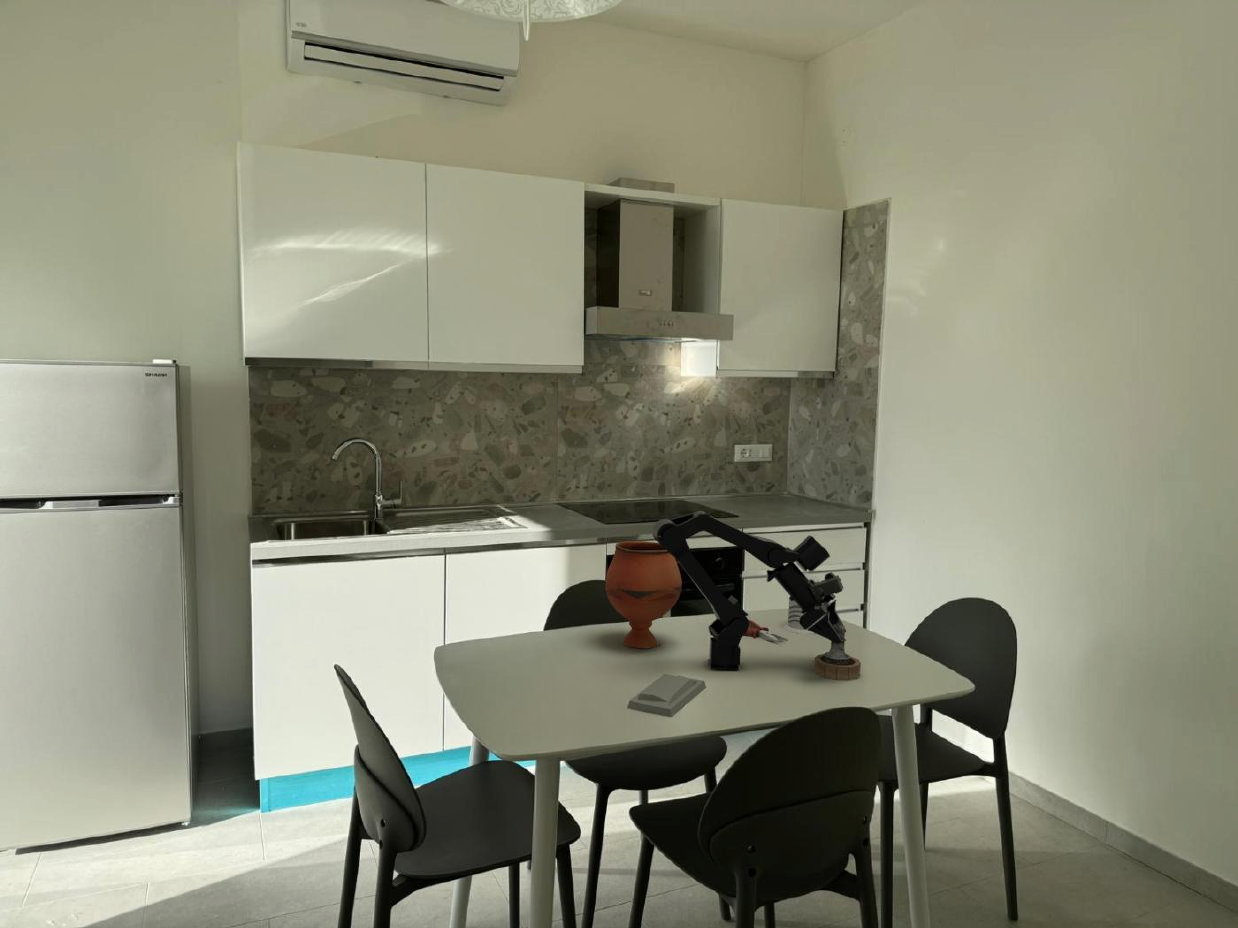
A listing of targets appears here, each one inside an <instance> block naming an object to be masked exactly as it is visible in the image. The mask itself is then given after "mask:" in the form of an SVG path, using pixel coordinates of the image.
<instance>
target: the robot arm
mask: <svg viewBox="0 0 1238 928" xmlns="http://www.w3.org/2000/svg"><path fill="white" fill-rule="evenodd" d="M702 531H704V532H706V533H708V534H710V535H711V536H715V537H717V538H718V539H721V540H723V541H724V542H725V541H726V542H727V543H729V544H731V545H733V546H735V547H737V548H738V547H739V548H740V549H742V550H744V551H745V552H747V553H748V554H750V555H751V556H753V557H754V558H755V559H756V560H758V561H759V562H761V563H762V564H764V565H766V566H767V567H768V568H771V569H772V570H770V569H768V570H766V583H769V582H771V581H772V580H774V579H775V580H776V581H777V583H778V584H779V585H780V586H781V587H782V589H783V590H785V592H786V593H787V594H788V595H789V597H788V600H789V599H790V600H791V601H793V600H794V601H795V602H796V603H797V604H798V606H799V607H800V608H801V609H802V611H801V613H800V614H802V615H801V617H800V623H799V624H800V625H801V626H802V627H803V628H804V629H805V630H806V629H807V628H808V627H809V628H808V631H812V632H814V633H813V634H816V635H819V636H820V637H823V638H825V639H827V640H828V641H830V642H831V641H833V642H835V643H837V644H840V643H841V642H842V640H841V639H840V637H839V635H838V634H837V632H836V631H835V629H834V628H833V625H834V624H836V623H838V620H840V621H841V622H840V623H841V624H843V625H844V623H843V622H842V620H841V618H840V616H839V614H838V612H837V610H836V605H837V599H835V598H836V595H835V594H839V593H841V592H843V590H844V586H843V583H842V578H840V576H839V575H835V574H834V573H833V572H832V571H830V572H828V573H826V574H824V579H823V580H820V581H819V582H818V583H815V581H814V580H813V579H812V580H811V579H810V580H808V578H807V577H806V576H805V575H804V574H803V573H804V572H805V573H807V571H808V572H811V573H813V572H814V571H815V570H816V569H817V568H818V567H820V566H821V565H822V564H823V563H824V562H825V561H827V560H828V559H829V558H831V555H830V553H829V551H827V549H826V548H825V546H822V544H821V543H819V541H817V540H816V539H815V538H814V536H813V535H811V534H810V535H807V536H806V537H805V538H804V539H805V540H804V539H803V540H804V541H802V542H800V543H799V544H798V545H797V546H796V547H795V548H793V549H792V548H790V547H787V546H786V547H784V546H783V545H782V544H780V543H778V542H777V541H775V540H773V539H769V538H766V537H762V536H758V535H752V534H750V533H747V532H746V531H743V530H741V529H738V528H737V527H734V526H732V525H730V524H728V523H726V522H724V521H723V520H722V521H721V520H719V519H718V518H715V517H714V516H711V515H710V514H708V513H707V512H705V511H703V510H697V511H694V512H693V513H690V514H686V515H682V516H677V517H674V518H672V519H667V518H662V519H659V520H658V521H656V522H655V523H654V525H653V526H652V531H651V534H652V537H653V539H654V540H655V541H656V543H659V544H660V545H661V546H663V547H664V548H665V549H666V550H667V551H668V552H669V553H670V554H671V555H672V556H673V557H675V559H676V562H678V563H679V565H680V566H681V567H682V568H683V570H684V572H685V573H686V574H687V575H688V576H689V578H690V579H691V580H692V582H693V583H694V584H695V586H696V588H697V589H699V591H700V593H701V594H702V596H704V598H705V599H706V601H708V603H709V605H710V606H711V609H712V612H713V614H714V616H715V620H714V621H712V622H711V624H710V625H708V632H709V635H710V636H712V637H710V640H709V658H708V659H707V663H708V665H709V668H710V669H711V670H722V671H729V670H730V671H739V669H740V667H739V666H741V649H742V648H741V646H740V643H741V640H742V638H743V635H744V634H745V633H746V632H747V630H748V628H749V620H750V619H749V618H748V617H749V613H748V612H746V610H744V609H743V608H742V606H741V603H740V601H739V600H737V599H736V598H735V597H734V596H733V595H730V596H729V597H728V598H727V597H726V596H725V595H724V594H723V592H722V591H721V590H720V588H719V586H718V585H717V584H716V583H715V581H714V580H713V579H712V577H711V576H710V575H709V574H708V572H707V571H706V569H705V568H704V567H703V566H702V564H701V563H700V562H699V560H698V559H697V558H696V557H695V555H694V553H693V552H692V551H691V548H690V546H689V544H688V542H687V539H689V538H691V537H693V536H695V535H697V534H698V533H701V532H702ZM795 563H796V564H795ZM797 565H798V566H797ZM799 567H800V568H799ZM802 570H803V571H802ZM831 601H832V602H831ZM747 616H748V617H747ZM846 632H847V629H846V628H845V633H846Z"/></svg>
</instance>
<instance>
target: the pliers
mask: <svg viewBox="0 0 1238 928" xmlns="http://www.w3.org/2000/svg"><path fill="white" fill-rule="evenodd" d="M748 620H749V628H748V630H747V632H746V633H745V634H744V635H743V636H744V637H750V638H751V637H752V639H755V640H756V639H757V638H758V639H759V638H760V639H762V640H765V641H769V642H774V643H779V644H781V643H782V642H781V641H783V642H784V641H785V642H788V641H789V640H788V638H786V637H784V636H781V635H779V634H777V633H774V632H771V631H769V630H770V629H769V628H768V627H767V626H766V627H761V626H760V624H758V623H756V622H755V621H753V620H751V619H748ZM743 636H742V637H743Z"/></svg>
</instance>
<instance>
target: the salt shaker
mask: <svg viewBox="0 0 1238 928" xmlns="http://www.w3.org/2000/svg"><path fill="white" fill-rule="evenodd" d="M840 620H841V619H840ZM840 620H838V623H836V624H834V625H833V628H834V629H835V631H836V632H837V634H838V635H839V637H840V639H841V640H842V642H841V643H840V644H837V643H835V642H833V641H831V640H830V649H829V651H827V652H825V653H823V654H824V656H825V659H826V662H827V663H828V664H832V665H840V666H846V665H847V663H848V661H849V659H850V656H851V655H850V654H847V652H846V651H845V642H846V641H847V639H846V638H845V634H846V632H845V629H846V626H845V625H844V623H843V624H841V623H840V622H842V620H841V621H840Z"/></svg>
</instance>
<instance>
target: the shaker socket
mask: <svg viewBox="0 0 1238 928" xmlns="http://www.w3.org/2000/svg"><path fill="white" fill-rule="evenodd" d="M849 656H850V659H849V661H848V663H847V665H846V666H840V665H832V664H828V663H827V662H826V659H825V656H824V653H821V654H818V655H816V656H815V657H814V667H813V672H815V674H816V675H818V676H820V677H823V678H826V679H830V680H835V681H836V680H837V681H851V680H855V679H856V680H857V679H858V678H859V677H860V676H861V666H862V665H861V664H862V662H861V661H860V660H859V659H858V658H856V657H854V656H851V655H849Z"/></svg>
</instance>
